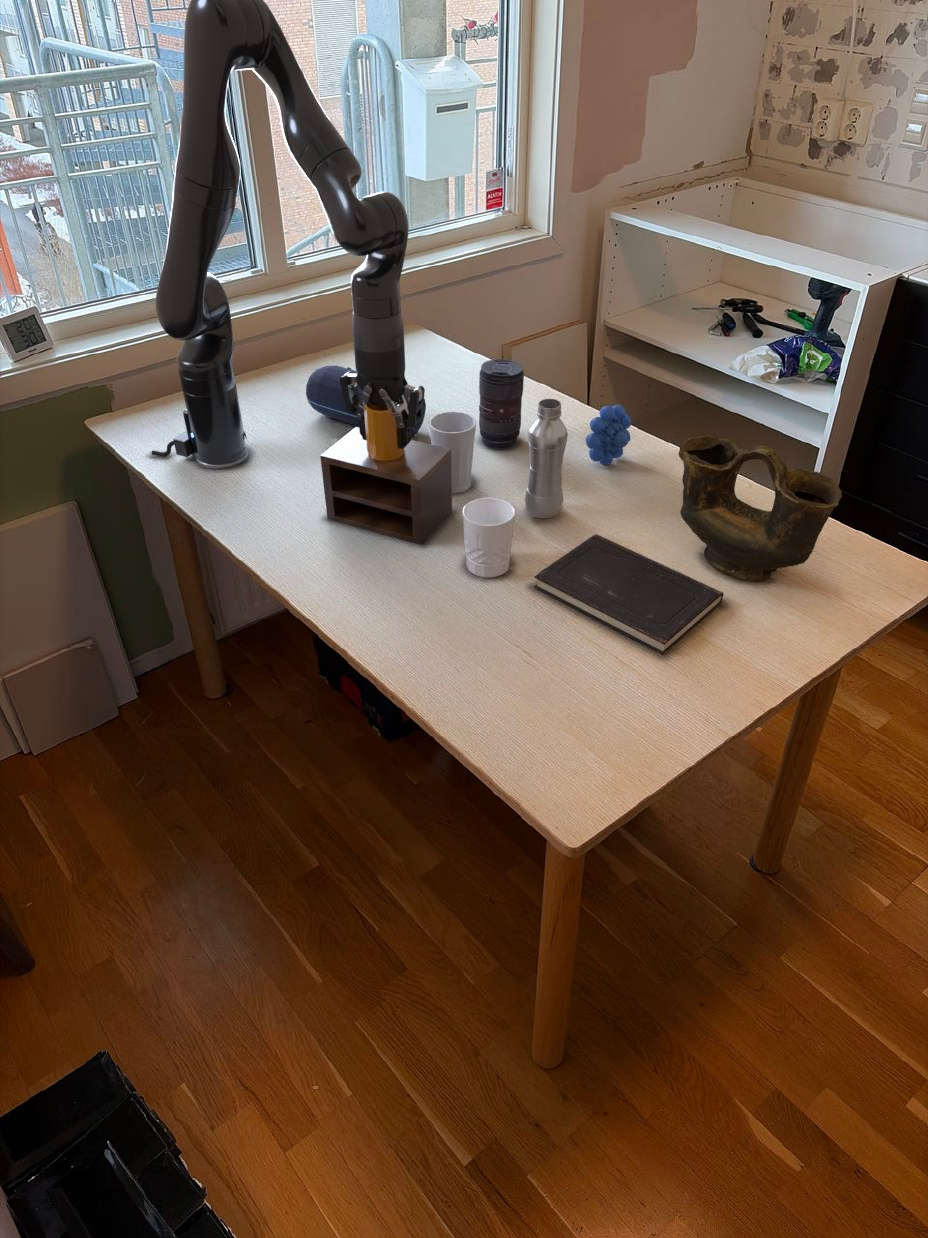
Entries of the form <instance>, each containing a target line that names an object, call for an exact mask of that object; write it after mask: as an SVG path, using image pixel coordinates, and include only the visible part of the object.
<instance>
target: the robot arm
mask: <svg viewBox="0 0 928 1238" xmlns="http://www.w3.org/2000/svg"><path fill="white" fill-rule="evenodd" d="M184 22H185V23H184V36H183V85H182V87H183V89H182V107H181V118H180V129H179V141H178V149H177V154H176V160H175V161H176V162H175V169H174V179H173V187H172V202H171V210H170V217H169V226H168V234H167V242H166V250H165V255H164V260H163V264H162V268H161V272H160V277H159V280H158V283H157V284H158V285H157V289H156V294H155V304H154V305H155V313H156V317H157V320H158V321H159V324H160V326H161V328H162V329H163V331H164V332H165V333H166V334H167V335H168V336H169V337H170V338H172V339H174V340H177V341H183V344H182V346H181V348H180V349H179V351H178V353H177V355H176V365H177V370H178V375H179V376H178V377H179V380H180V385H181V390H182V395H183V399H184V403H185V408H186V409H184V410H183V412H182V414H183V421H184V425H185V431H184V432H182V433H180V434H179V435H177V436H175V437H174V438H173V439H172V440H171V441H170V442H168V443H167V445H166V450H165V451H163V452H162V451H158V450H151V455H152V456H157V457H168V456H170V454H171V453H172V447H174V449H175V453H176V455H177V456H180V457H185V458H190V456H191V458H192V460H195V461H196V462H197V464H198V465H199V466H201V467H204V468H207V469H213V470H221V469H229V468H232V467H235V466H237V465H240V464H241V463H243V462H244V461H246V459H247V458H248V456H249V451H248V447H247V443H246V441H247V440H248V438H247V433H246V432H245V430H244V425H243V424H244V423H243V419H242V412H241V406H240V401H239V395H238V389H237V383H236V378H235V372H234V366H233V365H234V364H233V354H234V348H235V341H234V334H233V323H232V316H231V315H232V314H231V309H230V303H229V299H228V296H227V293H226V291H225V288H224V287H223V285H222V283H221V282H220V280H219V279H217V277H216V276H215V275H213V273H212V274H211V272H209V269H210V266H211V263H212V260H213V258H214V257H215V254H216V252H217V251H218V249H219V246H220V245H221V243H222V240H223V238H224V237H225V236H226V233H227V231H228V228H229V226H230V224H231V222H232V219H233V216H234V214H235V211H236V205H237V199H238V194H239V186H240V182H241V173H242V172H241V170H242V169H241V161H240V158H239V154H238V151H237V148H236V145H235V141H234V140H233V139H234V138H233V137H232V134H231V132H230V128H229V125H228V122H227V117H226V116H227V115H226V101H227V92H228V86H229V81H230V76H231V73H232V71H246V70H252V72H253V73H255V74H256V76H257V77H258V78H259V79H260V80H261V81H262V82H263V83H264V85H265V86H266V87H267V89H268V90H269V91H270V93H271V95H272V96H273V98H274V100H275V103H276V106H277V110H278V114H279V118H280V126H281V131H282V135H283V139H284V142H285V145H286V147H287V149H288V151H289V153H290V155H291V157H292V159H293V160H294V162H295V163H296V165H297V166H298V167H299V169H300V170H301V172H302V173H303V174H304V176H305V177H306V179H307V180H308V182H309V183H310V184H311V186H312V187H313V188H314V190H315V192H316V194H317V196H318V199H319V202H320V205H321V207H322V209H323V212H324V214H325V217H326V219H327V223H328V225H329V227H330V230H331V233H332V235H333V237H334V239H335V241H336V242H337V243H338V245H339V246H340V247H341V248H342V249H343V250H344V251H346V252H347V253H349V254H350V255H352V256H354V257H365V260H364V261H363V262H362V263H361V265H360V266H358V267H357V268H356V269H355V270H354V271H353V272H352V274H351V277H350V293H351V294H350V295H351V305H352V324H351V325H352V326H351V328H352V341H353V352H354V354H353V355H354V365H355V371H357V374H354V373H353V372H352V371H349V372H348V373H346V374H344V375H343V376H342V377H341V378H340V384H341V388H342V393H343V398H344V402H345V407H346V410H347V412H348V413H354V414H356V416H357V418H358V419H359V426H358V427H359V431H360V435H361V436H362V439H363V440H366V429H365V417H364V405H367V406H368V407H369V406H370V405H372V404H373V405H381V406H383V407H387V408H388V410H390V411H392V415H394V416H395V420H396V423H397V425H398V427H397V436H398V448H401V449H404V448H405V447H406V446H407V445H408V444H409V443H410V441H411V440H412V438H411V427H413V426H415V425H416V424H417V423H418V422H419V421H420V420H421V419H422V411H423V402H424V399H425V392H426V389H425V387H424V386H423V385H418V386H413V385H410V384H408V381H407V379H406V376H405V375H406V351H405V349H406V347H405V329H404V328H405V327H404V320H403V315H402V304H401V303H402V302H401V284H400V281H401V275H402V272H403V268H404V262H405V257H406V252H407V246H408V240H409V232H410V231H409V230H410V228H409V227H410V225H409V218H408V214H407V211H406V208H405V206H404V204H403V202H402V201H401V199H400V198H399V197H398V196H397V195H395V194H394V193H392V192H388V191H380V192H376V193H372V194H370V195H366V196H363V197H359V198H358V197H357V196H356V194H355V193H354V191H353V189H354V188H355V187H356V186H357V184H358V183H359V181H360V179H361V178H362V167H361V164H360V161H359V160H358V158H357V157H356V155H355V153H354V152H353V151H352V150H351V148H350V147H349V145H348V144H347V142H346V141H345V139H344V137H342V135H341V134H340V132H339V131H338V130H337V128H336V126H335V125H334V124H333V122H332V121H331V120H330V118H329V117H328V115H327V113H326V112H325V110H324V109H323V107H322V105H321V104H320V102H319V100H318V98H317V97H316V95H315V93H314V91H313V89H312V87H311V86H310V83H309V82H308V80H307V77H306V75H305V73H304V71H303V69H302V67H301V66H300V64H299V61H298V60H297V58H296V56H295V54H294V52H293V50H292V47H291V45H290V44H289V42H288V40H287V37H286V35H285V33H284V32H283V29H282V27H281V25H280V23H279V22H278V20H277V17H276V15H274V13H273V11H272V9H271V8H270V6H269V4H268V3H266V1H265V0H190V1H189V4H188V7H187V10H186V14H185V21H184ZM357 384H358V386H359V387H360V389H361V390H362V392H363V395H362V397H361V400H360V399H359V395H358V390H357ZM404 393H406V394H407V398H408V399H407V400H408V401H410V402H409V411H408V409H407V402H406V400H405V398H404V396H403V394H404ZM397 402H398V405H399V403H400V404H401V405H400V406H399V407H397V406H398V405H397V406H395V404H396V403H397ZM401 411H402V414H401Z"/></svg>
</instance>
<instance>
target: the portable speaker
mask: <svg viewBox="0 0 928 1238" xmlns="http://www.w3.org/2000/svg"><path fill="white" fill-rule="evenodd" d="M349 371H352V372H353V373H354V374H357V371H356V370H355V369H354V370H353V369H352V368H351V367H348V366H347V367H344V366H340V365H337V364H335V365H333V364H332V365H325V366H322V367H319V368H316V369H315V370H314V371H313V372H312V373H311V374H310V376H309V377H308V380H307V382H306V386H305V397H306V400H307V402H308V404H309V405H310V407H311V408H312V409H314V410H315V411H316V412H317V413H320V414H321V415H323V416H325V417H328V418H331V419H335V420H338V421H341V422H345V423H348V424H351V425H354V426H356V427H359V419H358V418H357V416H356V414H354V413H348V412H347V410H346V407H345V402H344V398H343V393H342V388H341V384H340V378H341V377H342V376H343V375H344V374H346V373H348V372H349ZM357 390H358V395H359V399H360V400H361V397H362V395H363V392H362V390H361V389H360V387H359V386H358V384H357ZM403 396H404V398H405V400H406V402H407V409H408V411H409V402H410V401H408V400H407V399H408V398H407V394H406V393H404V394H403ZM426 407H427V403H426V399H425V398H424V402H423V411H422V419H421V420H420V421H419V422H418V423H417V424H416V425H415V426H413V427H411V439H412V438H414V437H415V436H417V434H418V432H419V430H420V429H421V428H422V425H423V422H424V420H425V416H426V410H427V408H426Z"/></svg>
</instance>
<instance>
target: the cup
mask: <svg viewBox="0 0 928 1238" xmlns="http://www.w3.org/2000/svg"><path fill="white" fill-rule="evenodd" d="M428 426H429V434H430V441H431V443H430V444H431V445H436V446H440V447H444V448H448V449H451V475H452V494H459V493H462V492H465V491H467V490H469V489H470V488H471V486H472V470H473V457H474V448H475V447H474V444H475V437H476V426H477V421H476V418H475V417H474V416H473V415H471V414H469V413H467V412H462V411H444V412H441V413H437V414H435V415H433V416H432V417H431V418H430V419H429V421H428Z"/></svg>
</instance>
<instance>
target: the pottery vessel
mask: <svg viewBox="0 0 928 1238" xmlns="http://www.w3.org/2000/svg"><path fill="white" fill-rule="evenodd" d="M678 457H679V459H680V460H681V461H682V463H683V474H682V479H681V480H682V485H683V489H682V505H681V508H680V511H679V513H680V517H681V518H682V520H683V521H684V523H685V524H686V525H687V526H688V527H689V529H690V530H691V532H692V533H693V534H695V535H696V537H697V538H698V539H699V540H700V541H701V542H702V543H703V544H704V545H705V546H706V547H705V549H704V550H703V556H704V559H706V562H707V563H708V564H709V565H710V567H712V568H713V569H715V570H717V571H718V572H719V573H721V574H723V575H726V576H728V577H731V578H733V579H736V580H739V581H740V580H741V581H751V582H765V581H767V580H769V579H770V578H771V576H772V574H774V573H776V572H777V571H778V570H780V569H783V568H784V569H785V568H790V567H794V566H798V565H804V564H805V562H807V561H808V560H809V558H810V556H811V555H812V553H813V552H814V549H815V546H816V543H817V541H818V538H819V536H820V534H821V533H822V531H823V528H824V527H825V525H826V524H827V521H828V520H829V518H830V515H831V514H832V513H833V511H834V509H835V508H836V507H838V506H839V502H840V501H841V498H843V495H842V493H843V492H842V490H841V489H840V487H839V483H838V482H837V481H836V480H835V479H834V478H833V477H831V476H828V475H826V474H823V473H821V472H819V471H815V470H810V469H803V468H793V469H788V467H787V464H786V463H785V462H784V461H783V460H782V457H781V455H780V454H779V453H778V452H777V451H776V450H775V449H772V448H770V447H768V446H765V445H758V446H752V447H748V449H742V448H741V447H740V446H739V445H738V444H736V443H735V442H734V441H732V440H730V439H728V438H720V437H719V436H715V435H711V434H710V435H708V434H704V435H700V436H698V437H697V436H696V437H688V438H687V439H685V441H684V443H683V445H682V446H679V450H678ZM750 460H760V461H763V462H764V463H765V465H766V466H767V468H768V473H769V475H770V478H771V482H772V484H773V487H774V500H773V505H772V508H771V510H764V509H761V508H757V507H754V506H753V505H751V504H748V503H747V502H744V501H743V500H741V499H739V498H738V497H737V495H736V482H737V478H738V475H739V472H740V470H741V468H742V467H743V465H744V463H745V462H747V461H750Z"/></svg>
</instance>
